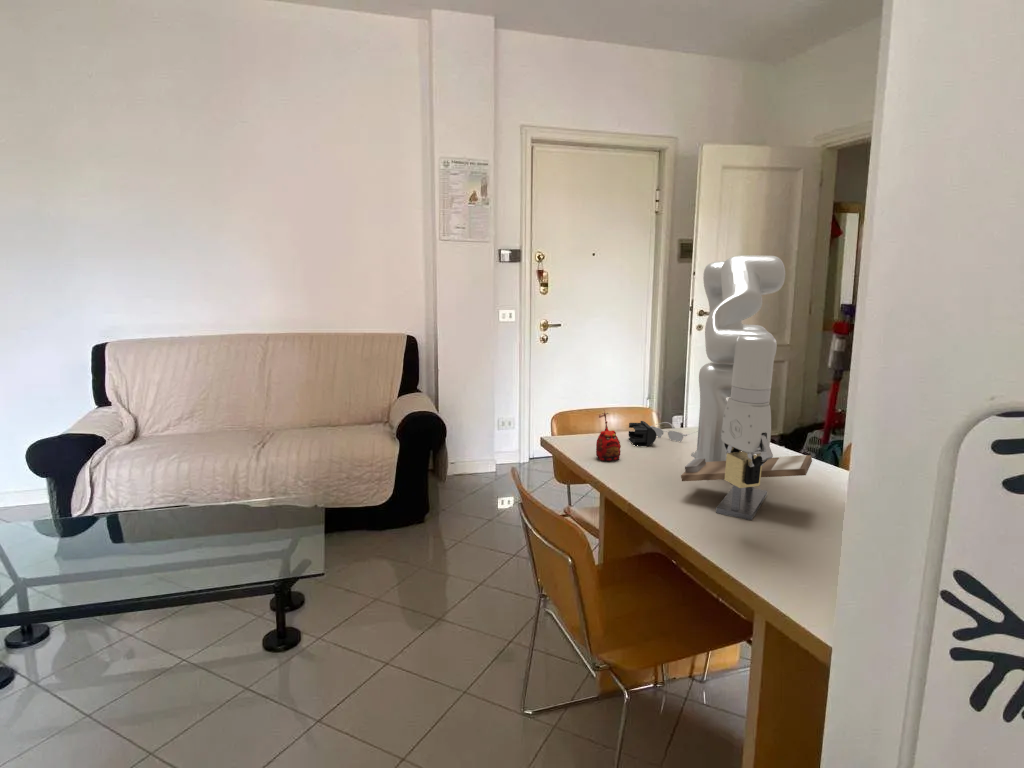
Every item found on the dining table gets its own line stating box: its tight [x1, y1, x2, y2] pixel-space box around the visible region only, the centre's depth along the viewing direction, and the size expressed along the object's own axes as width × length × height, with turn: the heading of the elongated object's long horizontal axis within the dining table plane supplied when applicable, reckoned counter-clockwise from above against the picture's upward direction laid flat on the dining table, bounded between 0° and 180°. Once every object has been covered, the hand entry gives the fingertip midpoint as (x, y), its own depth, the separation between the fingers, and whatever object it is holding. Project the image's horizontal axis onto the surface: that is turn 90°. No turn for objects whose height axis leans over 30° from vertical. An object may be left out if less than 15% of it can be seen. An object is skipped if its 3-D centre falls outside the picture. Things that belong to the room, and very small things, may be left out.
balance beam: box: [680, 454, 813, 482], centre depth 145 cm, size 28×14×3 cm, turn 58°
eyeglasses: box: [649, 421, 698, 443], centre depth 214 cm, size 15×18×4 cm
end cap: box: [628, 420, 657, 447], centre depth 201 cm, size 10×7×7 cm
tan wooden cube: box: [723, 451, 762, 488], centre depth 126 cm, size 5×5×6 cm
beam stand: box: [715, 484, 768, 521], centre depth 146 cm, size 8×20×10 cm, turn 148°
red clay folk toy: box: [595, 409, 622, 462], centre depth 181 cm, size 8×7×15 cm
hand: (742, 477), depth 126 cm, fingers closed on tan wooden cube, 5 cm apart
